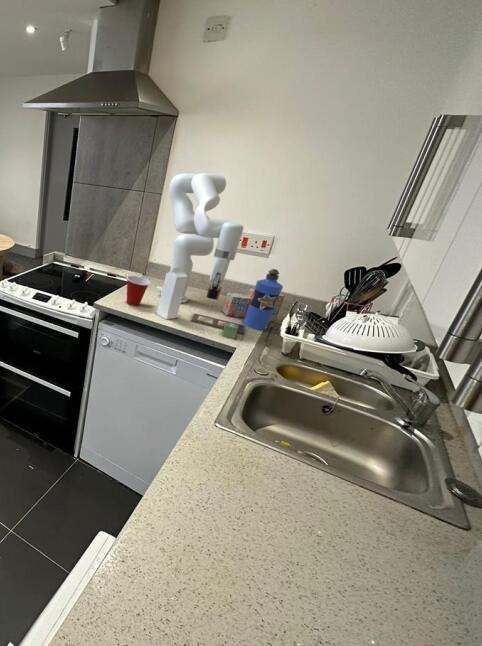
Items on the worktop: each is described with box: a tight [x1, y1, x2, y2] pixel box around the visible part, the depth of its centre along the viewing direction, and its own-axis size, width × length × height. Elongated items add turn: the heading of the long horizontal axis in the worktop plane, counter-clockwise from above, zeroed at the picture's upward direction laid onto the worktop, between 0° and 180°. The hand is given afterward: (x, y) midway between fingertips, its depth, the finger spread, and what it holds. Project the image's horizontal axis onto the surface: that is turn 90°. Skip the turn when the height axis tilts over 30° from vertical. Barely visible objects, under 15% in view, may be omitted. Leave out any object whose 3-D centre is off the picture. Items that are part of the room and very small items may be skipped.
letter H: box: [205, 284, 222, 301], centre depth 163 cm, size 4×4×5 cm
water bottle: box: [242, 268, 284, 331], centre depth 163 cm, size 9×9×25 cm
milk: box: [156, 267, 187, 320], centre depth 166 cm, size 6×6×22 cm
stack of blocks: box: [221, 288, 285, 322], centre depth 176 cm, size 21×6×12 cm, turn 84°
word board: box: [190, 313, 245, 335], centre depth 167 cm, size 20×10×1 cm, turn 59°
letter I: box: [221, 321, 238, 340], centre depth 156 cm, size 4×4×5 cm
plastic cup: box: [126, 275, 152, 307], centre depth 179 cm, size 11×11×12 cm
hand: (212, 296), depth 164 cm, fingers closed on letter H, 4 cm apart
